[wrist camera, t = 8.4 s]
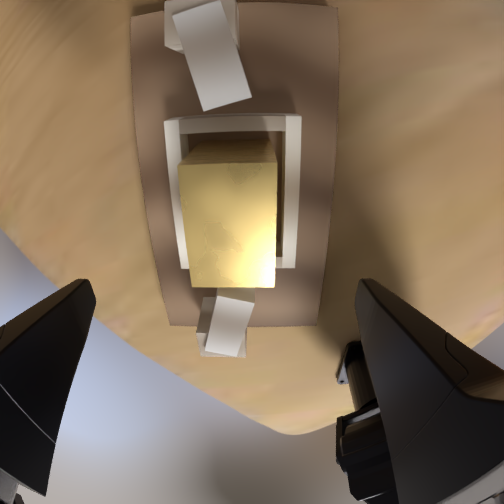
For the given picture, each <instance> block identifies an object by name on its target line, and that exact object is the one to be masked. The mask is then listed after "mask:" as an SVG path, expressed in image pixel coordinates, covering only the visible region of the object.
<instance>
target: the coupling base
mask: <svg viewBox="0 0 504 504" xmlns="http://www.w3.org/2000/svg"><path fill="white" fill-rule="evenodd" d="M131 69H132V89H133V104H134V117H135V128H136V138H137V147H138V156H139V164H140V172H141V179H142V187H143V193H144V200H145V206H146V213H147V219H148V224H149V230H150V236H151V241H152V246H153V252H154V257H155V262H156V266H157V271H158V276H159V281H160V285H161V290H162V294H163V298H164V303H165V307H166V311H167V315H168V319H169V323H170V325H171V326H197V331H196V335H197V340H198V345H199V350H200V355H201V356H208V357H246V341H247V327H287V326H316V324H317V318H318V312H319V306H320V299H321V292H322V285H323V278H324V271H325V263H326V255H327V247H328V238H329V229H330V220H331V209H332V199H333V187H334V174H335V160H336V144H337V124H338V93H339V32H338V8H337V7H329V6H321V5H310V4H297V3H276V2H244V3H237V1H236V0H171V1H165V5H164V11H158V12H153V13H148V14H143V15H138V16H134V17H131ZM232 139H270V140H271V143H272V147H273V150H274V153H275V156H276V160H277V215H276V253H275V284H274V287H192V284H191V277H190V270H189V263H188V256H187V249H186V241H185V233H184V225H183V217H182V208H181V199H180V190H179V180H178V169H177V165H178V164H179V163H180V162H181V161H182V160H183V159H184V158H185V157H186V156H187V155H188V154H189V153H190V152H191V151H192V150H193V149H194V148H195V147H196V146H197V145H198V144H199V143H200V142H201V141H206V140H232Z"/></svg>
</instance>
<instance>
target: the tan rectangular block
mask: <svg viewBox="0 0 504 504" xmlns="http://www.w3.org/2000/svg"><path fill="white" fill-rule="evenodd" d="M177 169H178V180H179V190H180V199H181V208H182V217H183V225H184V233H185V241H186V249H187V256H188V263H189V270H190V277H191V284H192V287H274V284H275V253H276V215H277V160H276V156H275V153H274V150H273V147H272V143H271V140H270V139H232V140H206V141H201V142H200V143H199V144H198V145H197V146H196V147H195V148H194V149H193V150H192V151H191V152H190V153H189V154H188V155H187V156H186V157H185V158H184V159H183V160H182V161H181V162H180V163H179V164H178V165H177Z"/></svg>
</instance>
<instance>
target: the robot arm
mask: <svg viewBox="0 0 504 504" xmlns="http://www.w3.org/2000/svg"><path fill="white" fill-rule="evenodd" d="M95 306H96V298H95V295H94V292H93V289H92V286H91V284H90V281H89V280H88V279H77V280H75V281H73V282H71V283H70V284H68V285H66V286H65V287H63V288H61V289H60V290H58V291H57V292H55V293H53V294H51V295H50V296H48V297H47V298H45V299H43V300H42V301H40V302H38V303H37V304H35V305H34V306H32V307H30V308H29V309H27V310H26V311H24V312H23V313H21V314H19V315H18V316H16V317H15V318H14V319H12V320H10V321H9V322H7V323H6V324H4V325H3V326H1V327H0V504H24V502H23V500H22V497H21V495H19V494H17V493H16V492H17V488H18V485H19V484H20V485H22V486H24V487H26V488H28V489H30V490H32V491H34V492H36V493H38V494H40V495H42V496H46V492H47V486H48V479H49V475H50V469H51V464H52V459H53V454H54V449H55V443H56V440H57V436H58V432H59V427H60V424H61V420H62V416H63V412H64V409H65V405H66V401H67V398H68V394H69V391H70V388H71V385H72V381H73V378H74V375H75V372H76V369H77V365H78V362H79V360H80V357H81V354H82V351H83V348H84V345H85V342H86V339H87V336H88V332H89V328H90V324H91V320H92V317H93V313H94V309H95ZM355 309H356V314H357V320H358V325H359V331H360V336H361V341H359V342H351V343H349V344H348V345H347V347H346V351H345V354H344V358H343V361H342V364H341V367H340V371H339V374H338V377H337V383H338V384H349V387H350V391H351V395H352V400H353V404H354V408H355V412H352V413H350V414H348V415H345V416H340V417H338V418H337V425H336V462H337V464H339V465H340V466H341V469H342V470H343V472H344V473H345V474H346V475H347V476H348V481H349V488H350V493H351V494H352V495H353V496H354V498H355V499H356V500H358V501H361V500H363V501H365V502H366V503H367V504H504V370H502V369H501V368H499V367H498V366H496V365H495V364H493V363H491V362H490V361H489V360H487V359H485V358H484V357H482V356H481V355H479V354H478V353H476V352H475V351H473V350H472V349H470V348H469V347H467V346H466V345H464V344H463V343H462V342H460V341H459V340H457V339H456V338H455V337H453V336H452V335H451V334H449V333H448V332H446V331H445V330H444V329H443V328H441V327H440V326H439V325H437V324H436V323H434V322H433V321H432V320H430V319H429V318H428V317H426V316H425V315H423V314H422V313H421V312H419V311H418V310H417V309H415V308H414V307H412V306H411V305H410V304H408V303H407V302H405V301H404V300H403V299H401V298H400V297H398V296H397V295H395V294H394V293H393V292H391V291H390V290H388V289H387V288H385V287H384V286H383V285H381V284H380V283H378V282H377V281H375V280H374V279H372V278H367V279H361V280H360V281H359V283H358V288H357V292H356V297H355Z"/></svg>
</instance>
